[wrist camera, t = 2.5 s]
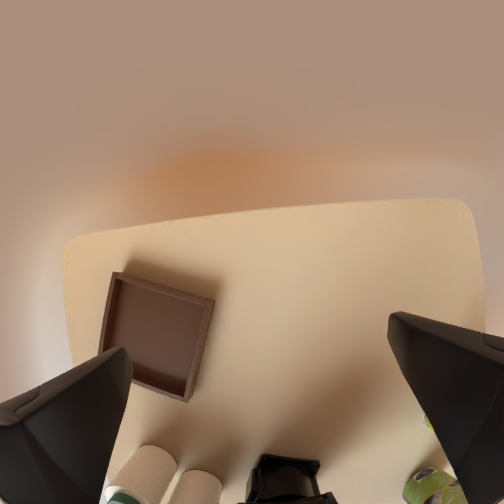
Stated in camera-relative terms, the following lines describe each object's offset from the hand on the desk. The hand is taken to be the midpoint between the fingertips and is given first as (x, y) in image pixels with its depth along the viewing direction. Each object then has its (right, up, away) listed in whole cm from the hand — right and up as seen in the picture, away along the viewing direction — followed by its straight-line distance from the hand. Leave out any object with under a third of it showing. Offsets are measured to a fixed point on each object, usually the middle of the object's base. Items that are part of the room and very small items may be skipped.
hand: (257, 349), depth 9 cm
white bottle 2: (-6, -23, +15) cm, 28 cm away
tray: (-10, -5, +17) cm, 20 cm away
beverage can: (+22, -26, +14) cm, 37 cm away
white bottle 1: (-11, -21, +15) cm, 28 cm away
